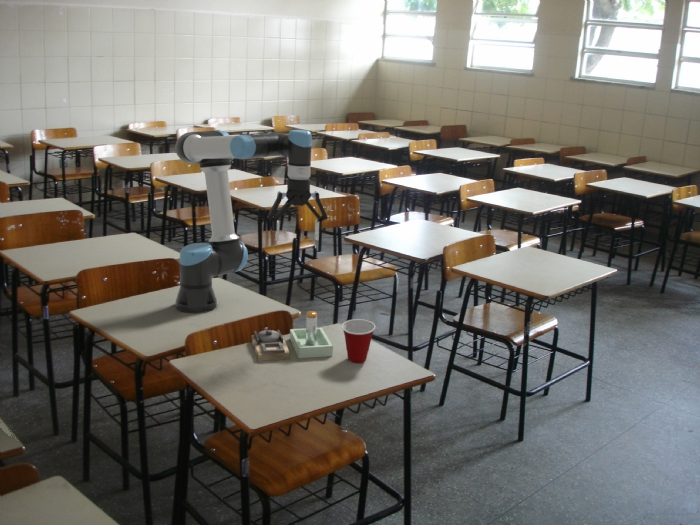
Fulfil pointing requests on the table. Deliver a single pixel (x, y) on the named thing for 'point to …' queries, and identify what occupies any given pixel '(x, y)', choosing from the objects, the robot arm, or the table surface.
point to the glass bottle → (311, 328)
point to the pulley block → (270, 345)
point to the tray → (304, 351)
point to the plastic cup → (358, 338)
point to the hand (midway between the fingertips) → (296, 239)
